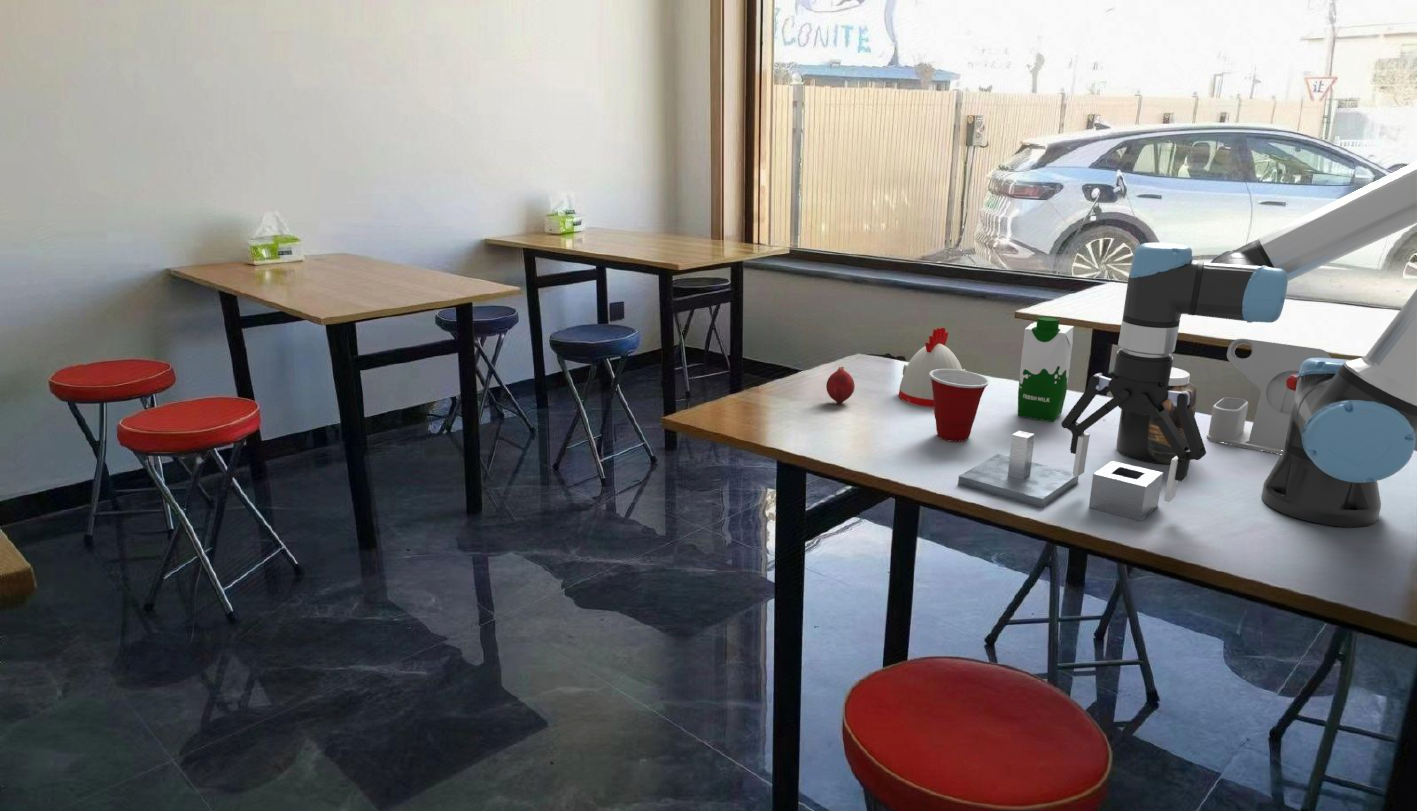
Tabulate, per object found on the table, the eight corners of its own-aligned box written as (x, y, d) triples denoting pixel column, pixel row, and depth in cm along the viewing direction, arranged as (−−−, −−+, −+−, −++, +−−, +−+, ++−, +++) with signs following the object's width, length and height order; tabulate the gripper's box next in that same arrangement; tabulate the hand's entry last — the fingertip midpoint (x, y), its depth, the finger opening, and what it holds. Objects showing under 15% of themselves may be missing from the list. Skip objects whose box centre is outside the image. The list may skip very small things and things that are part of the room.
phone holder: (1202, 439, 171) (1218, 345, 166) (1217, 426, 178) (1233, 335, 173) (1311, 461, 160) (1331, 361, 155) (1322, 446, 167) (1342, 350, 162)
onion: (855, 407, 190) (857, 370, 187) (827, 407, 190) (828, 370, 187) (851, 399, 195) (853, 362, 193) (824, 399, 195) (825, 362, 193)
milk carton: (1011, 416, 184) (1021, 318, 178) (1023, 405, 191) (1033, 310, 185) (1057, 424, 179) (1069, 323, 173) (1067, 412, 187) (1079, 315, 181)
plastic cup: (986, 448, 166) (992, 384, 163) (925, 444, 168) (929, 381, 165) (982, 429, 176) (987, 368, 173) (924, 425, 178) (928, 365, 175)
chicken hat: (977, 397, 197) (983, 328, 193) (946, 411, 187) (952, 339, 183) (919, 385, 206) (923, 319, 202) (886, 398, 196) (891, 329, 192)
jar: (1105, 453, 164) (1116, 371, 159) (1129, 437, 172) (1140, 359, 168) (1175, 469, 156) (1189, 384, 152) (1197, 452, 164) (1210, 371, 160)
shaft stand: (1077, 482, 151) (1084, 433, 148) (1041, 508, 141) (1047, 455, 138) (997, 461, 160) (1002, 415, 157) (958, 484, 150) (962, 435, 147)
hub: (1157, 506, 141) (1162, 472, 140) (1140, 521, 136) (1145, 486, 134) (1107, 493, 146) (1111, 460, 145) (1088, 507, 141) (1093, 473, 139)
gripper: (1247, 363, 129) (1218, 502, 135) (1071, 332, 145) (1052, 458, 151) (1232, 373, 123) (1203, 518, 130) (1051, 340, 139) (1033, 470, 146)
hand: (1122, 486), depth 141 cm, fingers open, 13 cm apart
